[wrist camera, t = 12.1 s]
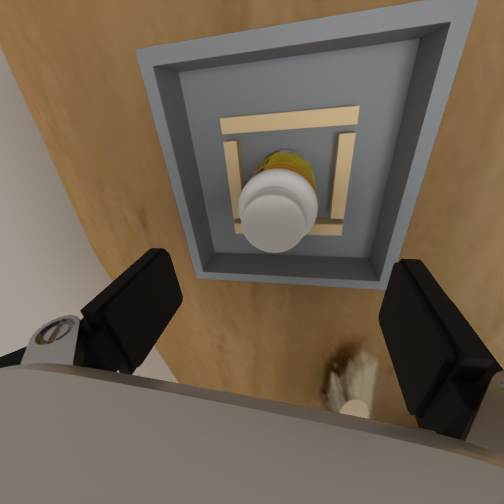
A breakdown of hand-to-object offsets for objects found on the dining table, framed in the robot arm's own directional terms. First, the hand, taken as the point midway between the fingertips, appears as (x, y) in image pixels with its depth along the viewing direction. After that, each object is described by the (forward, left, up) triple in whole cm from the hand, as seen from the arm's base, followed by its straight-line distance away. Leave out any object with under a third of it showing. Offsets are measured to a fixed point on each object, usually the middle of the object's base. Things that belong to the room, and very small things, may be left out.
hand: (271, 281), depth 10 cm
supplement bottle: (+1, 0, -15) cm, 15 cm away
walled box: (0, 0, -16) cm, 16 cm away
